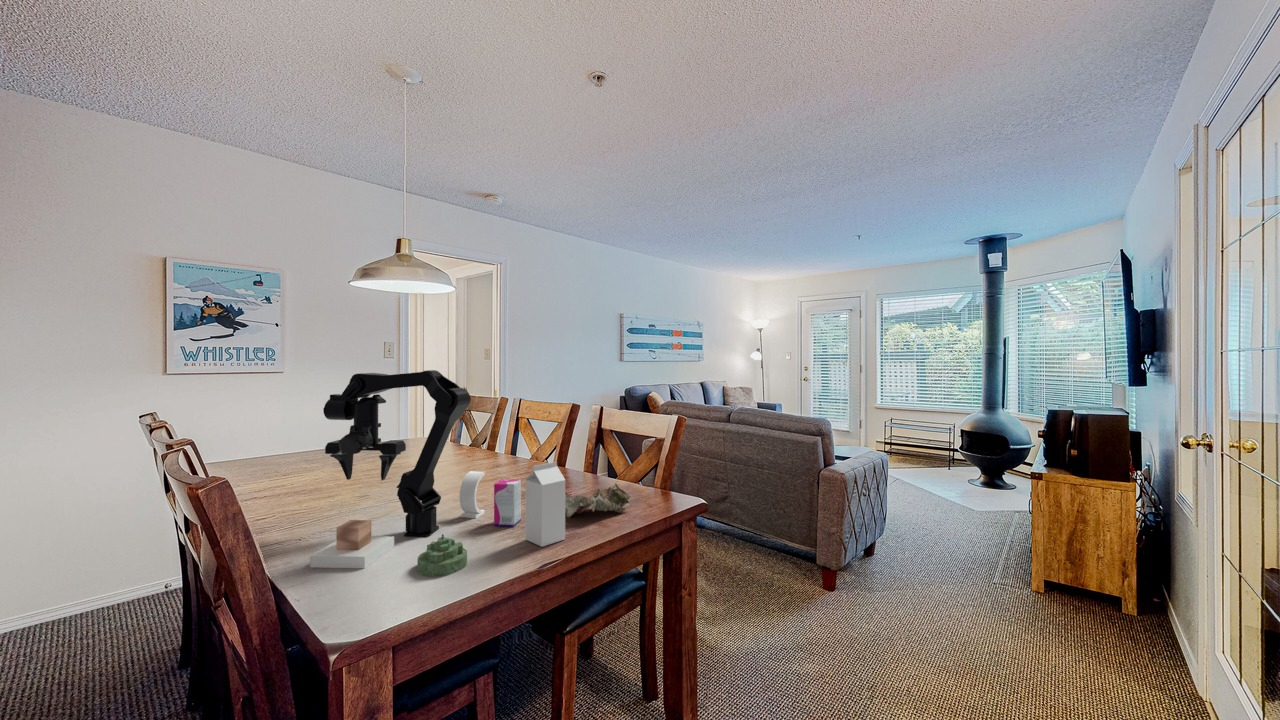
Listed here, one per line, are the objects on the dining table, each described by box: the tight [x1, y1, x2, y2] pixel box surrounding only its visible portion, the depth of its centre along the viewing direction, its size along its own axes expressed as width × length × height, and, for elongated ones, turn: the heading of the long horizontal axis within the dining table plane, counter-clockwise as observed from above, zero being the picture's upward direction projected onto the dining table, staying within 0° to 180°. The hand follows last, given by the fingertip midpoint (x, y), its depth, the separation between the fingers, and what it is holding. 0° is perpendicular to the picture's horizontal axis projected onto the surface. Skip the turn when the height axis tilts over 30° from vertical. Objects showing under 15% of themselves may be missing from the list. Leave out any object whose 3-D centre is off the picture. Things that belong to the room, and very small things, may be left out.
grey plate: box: [309, 535, 395, 569], centre depth 112 cm, size 12×12×2 cm
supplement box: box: [493, 478, 522, 528], centre depth 136 cm, size 6×6×12 cm
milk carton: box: [524, 461, 566, 547], centre depth 123 cm, size 7×7×19 cm
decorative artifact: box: [417, 533, 468, 577], centre depth 108 cm, size 10×7×10 cm
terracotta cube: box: [335, 519, 372, 550], centre depth 112 cm, size 5×5×5 cm
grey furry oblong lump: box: [565, 483, 631, 519], centre depth 145 cm, size 25×16×8 cm, turn 141°
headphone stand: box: [459, 470, 486, 519], centre depth 142 cm, size 5×6×12 cm
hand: (366, 479), depth 131 cm, fingers open, 9 cm apart
